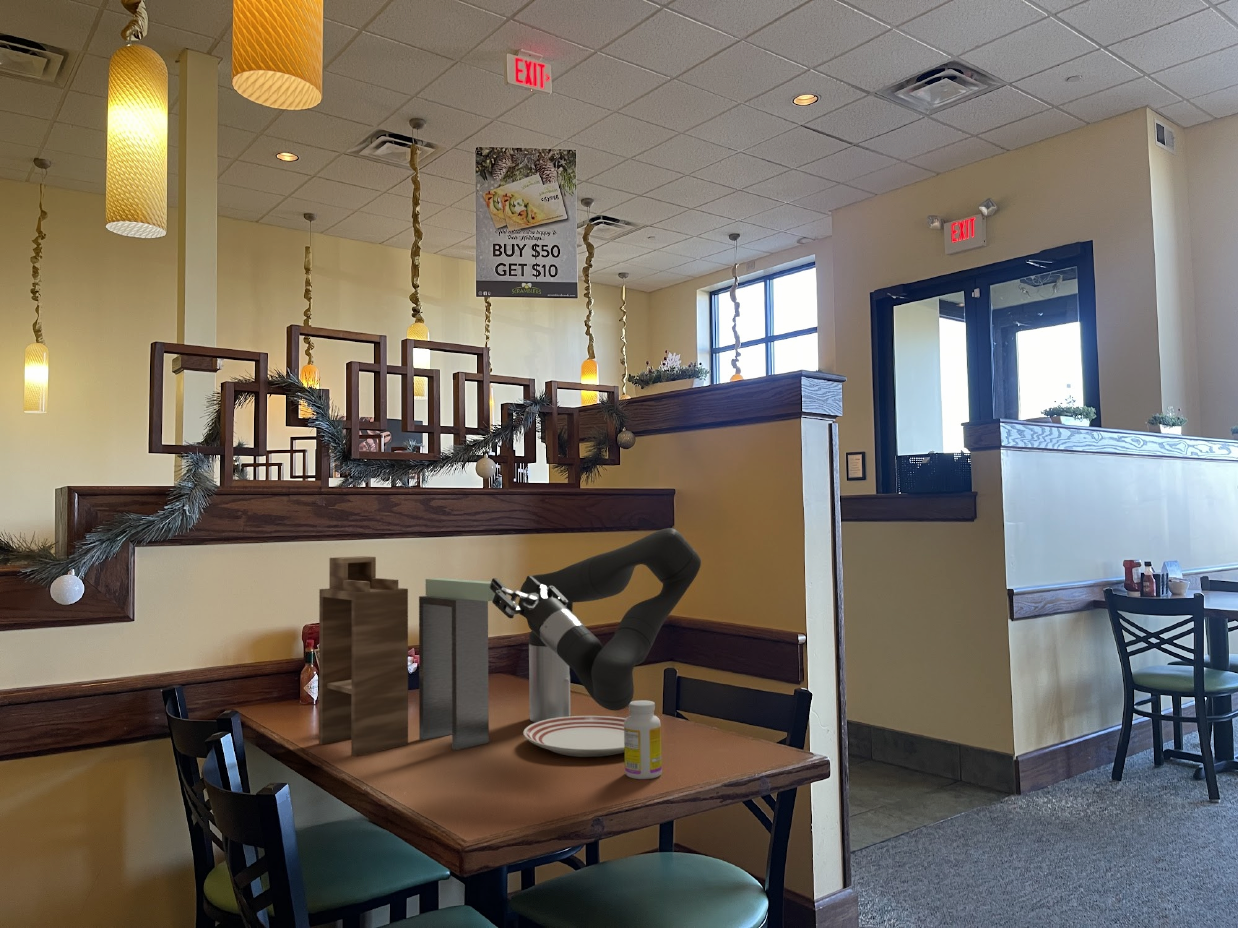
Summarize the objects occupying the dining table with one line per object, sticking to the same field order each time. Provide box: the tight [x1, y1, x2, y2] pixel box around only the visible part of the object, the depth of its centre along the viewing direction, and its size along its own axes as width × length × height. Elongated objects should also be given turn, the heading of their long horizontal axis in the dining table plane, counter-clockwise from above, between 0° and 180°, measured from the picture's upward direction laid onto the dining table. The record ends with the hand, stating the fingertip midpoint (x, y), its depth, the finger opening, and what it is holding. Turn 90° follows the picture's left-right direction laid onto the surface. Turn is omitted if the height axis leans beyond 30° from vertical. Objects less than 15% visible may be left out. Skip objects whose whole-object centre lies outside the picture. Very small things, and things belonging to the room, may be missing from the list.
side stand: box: [418, 595, 490, 751], centre depth 189 cm, size 14×8×30 cm, turn 45°
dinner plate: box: [522, 715, 627, 758], centre depth 184 cm, size 27×27×3 cm
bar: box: [425, 577, 503, 602], centre depth 188 cm, size 22×4×4 cm, turn 45°
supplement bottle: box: [624, 699, 663, 780], centre depth 163 cm, size 7×7×13 cm
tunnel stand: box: [318, 555, 409, 757], centre depth 188 cm, size 15×12×38 cm
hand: (510, 580), depth 177 cm, fingers open, 8 cm apart
